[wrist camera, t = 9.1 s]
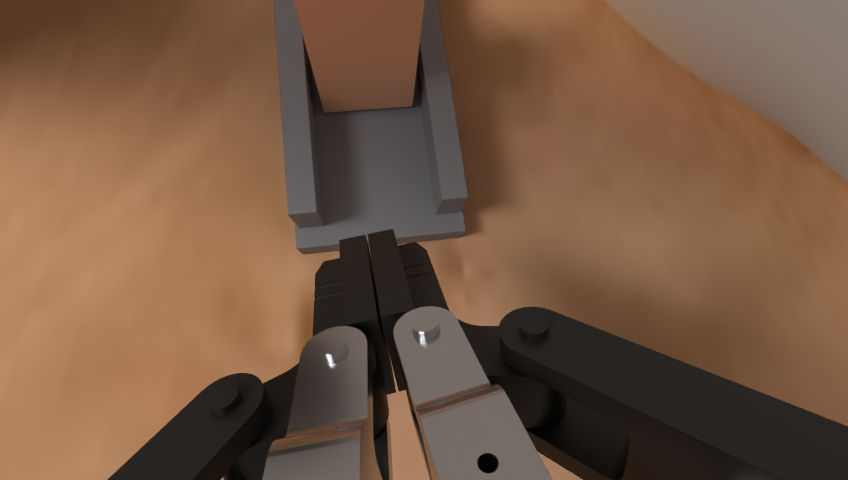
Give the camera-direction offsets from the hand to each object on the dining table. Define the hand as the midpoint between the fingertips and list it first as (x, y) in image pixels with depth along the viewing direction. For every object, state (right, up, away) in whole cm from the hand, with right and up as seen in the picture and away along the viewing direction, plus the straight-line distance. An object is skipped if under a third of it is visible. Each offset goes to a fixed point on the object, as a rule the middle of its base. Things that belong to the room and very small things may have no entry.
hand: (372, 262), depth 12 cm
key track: (-2, +8, +12) cm, 15 cm away
